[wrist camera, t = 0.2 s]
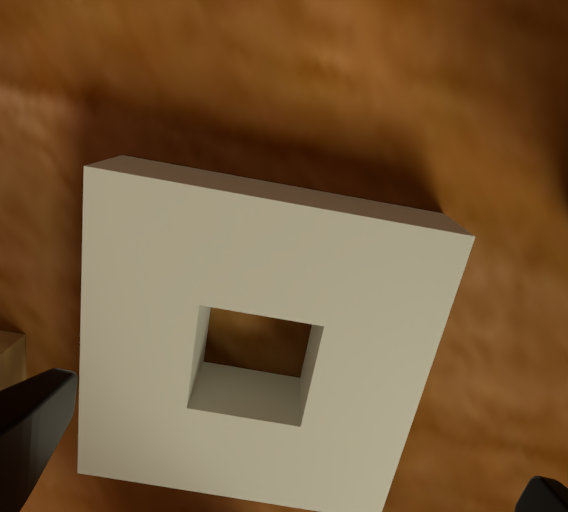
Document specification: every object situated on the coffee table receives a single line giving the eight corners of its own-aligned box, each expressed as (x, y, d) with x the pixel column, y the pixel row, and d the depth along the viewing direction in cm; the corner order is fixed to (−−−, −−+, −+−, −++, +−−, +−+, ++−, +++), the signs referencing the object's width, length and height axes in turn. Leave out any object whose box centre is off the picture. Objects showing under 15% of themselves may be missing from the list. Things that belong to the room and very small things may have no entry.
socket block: (367, 462, 26) (378, 520, 23) (109, 419, 26) (77, 472, 22) (443, 213, 21) (475, 236, 17) (122, 154, 21) (83, 165, 17)
